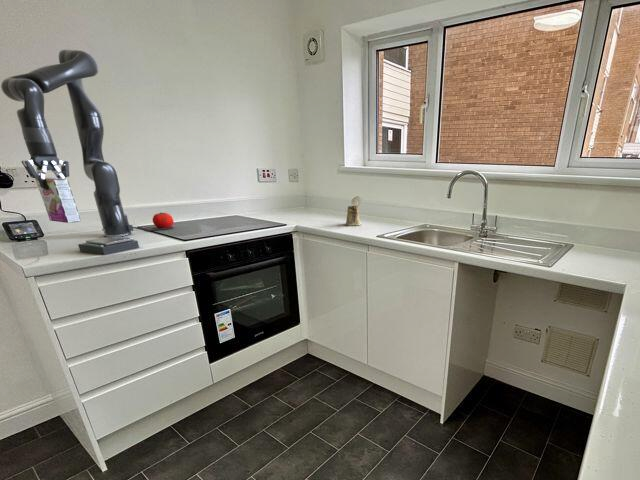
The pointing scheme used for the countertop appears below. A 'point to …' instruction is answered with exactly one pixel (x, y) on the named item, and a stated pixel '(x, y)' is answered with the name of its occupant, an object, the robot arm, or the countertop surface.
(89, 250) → the scale
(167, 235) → the countertop surface
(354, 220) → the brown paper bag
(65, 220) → the candy bar box
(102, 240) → the gray square plate
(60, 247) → the countertop surface
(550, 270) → the countertop surface
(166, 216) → the tomato
